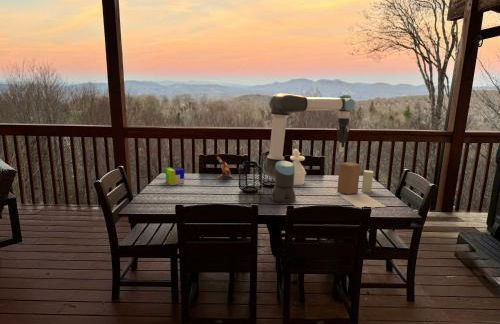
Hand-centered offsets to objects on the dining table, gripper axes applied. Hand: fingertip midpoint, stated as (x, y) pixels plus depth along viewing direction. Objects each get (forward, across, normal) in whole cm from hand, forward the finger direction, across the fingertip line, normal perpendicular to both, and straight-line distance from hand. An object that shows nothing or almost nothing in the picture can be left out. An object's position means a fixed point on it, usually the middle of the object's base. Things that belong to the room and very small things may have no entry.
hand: (341, 151), depth 231 cm
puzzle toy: (+26, +37, +111) cm, 120 cm away
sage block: (+26, -13, -14) cm, 32 cm away
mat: (+27, -31, +2) cm, 41 cm away
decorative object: (+25, +17, +26) cm, 40 cm away
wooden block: (+26, -12, +1) cm, 29 cm away
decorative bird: (+25, +42, +74) cm, 88 cm away
